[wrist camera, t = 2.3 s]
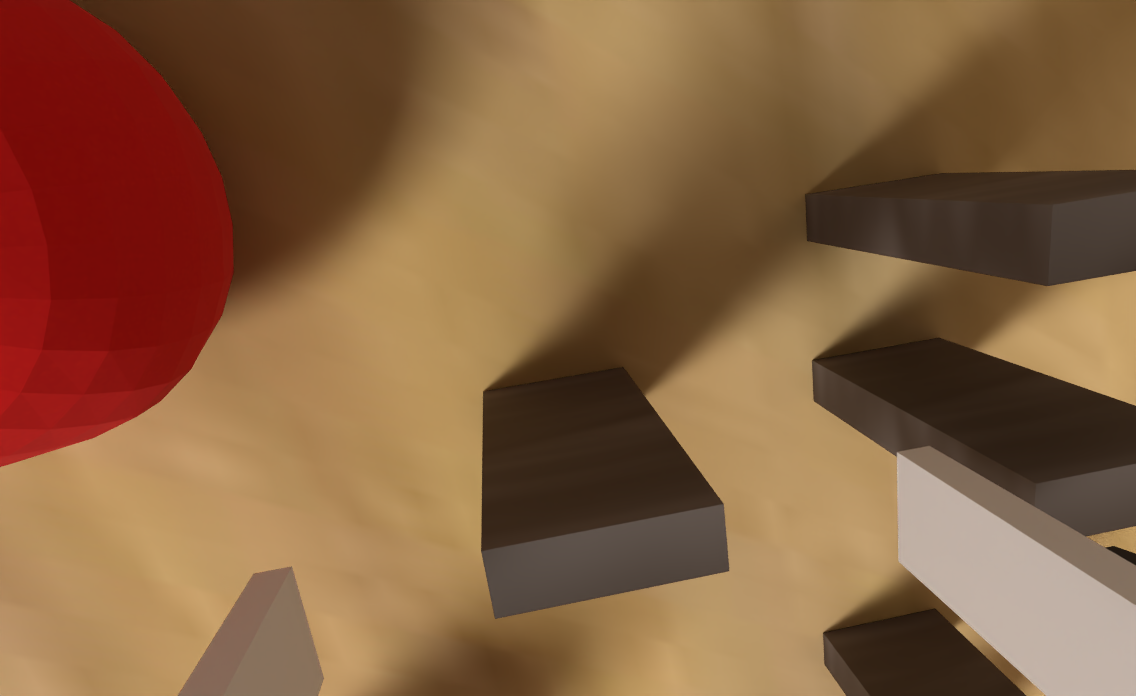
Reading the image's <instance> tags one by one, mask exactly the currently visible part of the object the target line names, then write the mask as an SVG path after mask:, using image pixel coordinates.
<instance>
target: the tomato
mask: <svg viewBox="0 0 1136 696" xmlns="http://www.w3.org/2000/svg"><path fill="white" fill-rule="evenodd" d="M233 273H234V267H233V224H232V220H231V215H230V211H229V206H228V202H227V197H226V193H225V188H224V184H223V179H222V176H221V174H220V172H219V170H218V168H217V165H216V163H215V161H214V159H213V157H212V154H211V152H210V150H209V148H208V146H207V144H206V141H205V139H204V137H203V135H202V133H201V131H200V130H199V128H198V127H197V125H196V124H195V122H194V121H193V120H192V118H191V117H190V115H189V114H188V112H187V111H186V110H185V108H184V107H183V105H182V104H181V102H180V101H179V100H178V98H177V97H176V95H175V94H174V92H173V91H172V90H171V88H170V87H169V86H168V84H167V83H166V81H165V80H164V79H163V77H162V76H161V75H160V74H159V73H158V72H157V71H156V70H155V69H154V68H153V67H152V66H151V65H150V64H149V63H148V62H147V61H146V60H145V59H144V58H143V57H142V56H141V55H140V54H139V53H138V52H137V51H136V50H135V49H134V48H133V47H132V46H131V45H130V44H129V43H128V42H127V41H126V40H125V39H124V38H123V37H122V36H121V35H120V34H119V33H118V32H117V31H116V30H114V29H113V28H111V27H110V26H108V25H107V24H105V23H104V22H102V21H101V20H99V19H98V18H96V17H94V16H93V15H91V14H90V13H88V12H87V11H85V10H84V9H82V8H81V7H79V6H78V5H76V4H75V3H73V2H72V1H70V0H0V467H1V466H5V465H9V464H12V463H15V462H18V461H21V460H25V459H28V458H31V457H34V456H37V455H41V454H44V453H47V452H50V451H53V450H56V449H60V448H63V447H66V446H69V445H72V444H76V443H79V442H82V441H85V440H89V439H92V438H95V437H97V436H99V435H101V434H103V433H105V432H107V431H109V430H111V429H113V428H115V427H117V426H119V425H121V424H123V423H125V422H127V421H129V420H131V419H133V418H135V417H137V416H138V415H140V414H142V413H143V412H145V411H146V410H148V409H149V408H151V407H152V406H154V405H155V404H157V403H159V402H160V401H161V400H162V399H163V398H164V397H165V396H166V395H167V394H168V393H169V392H170V391H171V390H172V389H173V388H174V387H175V386H176V384H177V383H178V382H179V381H180V380H181V379H182V378H183V377H184V376H185V375H186V374H187V373H188V372H189V371H190V370H191V368H192V367H193V365H194V363H195V361H196V359H197V357H198V355H199V354H200V352H201V350H202V348H203V347H204V345H205V343H206V342H207V340H208V338H209V337H210V335H211V333H212V331H213V330H214V328H215V326H216V325H217V323H218V321H219V320H220V318H221V316H222V314H223V310H224V306H225V303H226V299H227V295H228V291H229V288H230V284H231V280H232V276H233Z"/></svg>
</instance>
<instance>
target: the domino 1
mask: <svg viewBox="0 0 1136 696" xmlns="http://www.w3.org/2000/svg"><path fill="white" fill-rule="evenodd" d="M481 552H482V557H483V562H484V567H485V572H486V577H487V582H488V586H489V591H490V596H491V601H492V606H493V611H494V616H495V619H497V618H502V617H507V616H511V615H516V614H521V613H526V612H531V611H536V610H541V609H546V608H551V607H556V606H560V605H565V604H570V603H575V602H580V601H585V600H590V599H595V598H600V597H605V596H610V595H614V594H619V593H624V592H629V591H634V590H639V589H644V588H649V587H654V586H659V585H663V584H668V583H673V582H678V581H683V580H688V579H693V578H698V577H703V576H708V575H713V574H717V573H722V572H727V571H729V562H728V550H727V538H726V526H725V515H724V504H723V502H722V501H721V500H720V498H719V497H718V496H717V494H716V493H715V492H714V490H713V489H712V487H711V486H710V485H709V483H708V482H707V481H706V479H705V478H704V477H703V475H702V474H701V472H700V471H699V470H698V468H697V467H696V466H695V464H694V463H693V462H692V460H691V459H690V457H689V456H688V455H687V453H686V452H685V451H684V449H683V448H682V447H681V445H680V444H679V442H678V441H677V440H676V438H675V437H674V436H673V434H672V433H671V432H670V430H669V429H668V427H667V426H666V425H665V423H664V422H663V421H662V419H661V418H660V417H659V415H658V414H657V412H656V411H655V410H654V408H653V407H652V406H651V404H650V403H649V402H648V400H647V399H646V397H645V396H644V395H643V393H642V392H641V391H640V389H639V388H638V387H637V385H636V384H635V382H634V381H633V380H632V378H631V377H630V376H629V374H628V373H627V372H626V370H625V369H624V367H621V368H615V369H610V370H604V371H598V372H592V373H587V374H581V375H575V376H570V377H564V378H558V379H552V380H547V381H541V382H535V383H529V384H524V385H518V386H512V387H506V388H501V389H495V390H489V391H483V451H482V537H481Z"/></svg>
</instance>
